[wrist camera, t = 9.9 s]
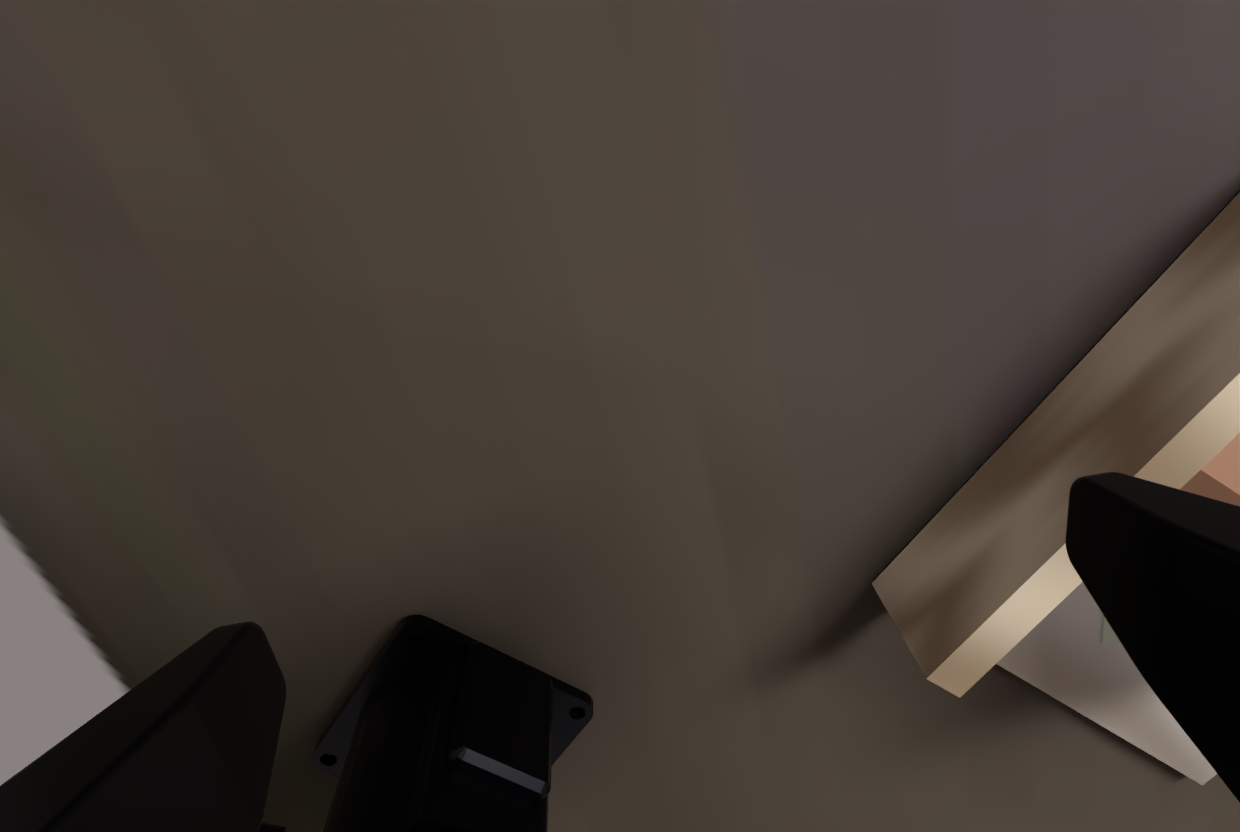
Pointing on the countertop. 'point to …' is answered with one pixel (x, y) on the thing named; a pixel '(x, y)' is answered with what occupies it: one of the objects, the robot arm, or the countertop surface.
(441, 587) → the countertop surface
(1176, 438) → the tray
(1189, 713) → the robot arm
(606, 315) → the countertop surface
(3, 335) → the countertop surface
